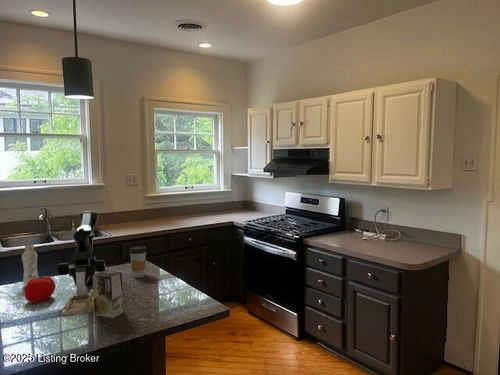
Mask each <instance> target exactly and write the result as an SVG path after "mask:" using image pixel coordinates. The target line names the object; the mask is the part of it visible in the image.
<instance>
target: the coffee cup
mask: <svg viewBox="0 0 500 375" xmlns="http://www.w3.org/2000/svg"><path fill="white" fill-rule="evenodd" d="M146 255H147V249H146V246H143V245H138V246H132V247H130V249H129V257H130V267H131V276H132V277H133V278H137V279H138V278H143V277H145V275H146V257H147V256H146Z"/></svg>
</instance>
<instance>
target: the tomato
mask: <svg viewBox="0 0 500 375" xmlns="http://www.w3.org/2000/svg"><path fill="white" fill-rule="evenodd" d="M24 287H25V288H24V298H25V300H27V301H28V302H29V303H39V302H43V301H46V300H48V299H50V297H52V296H53V294H55V293H54V292H55V290H56V282H55V281H54V279H53V278H52V277H51V276H48V275H46V276H38V277H37V278H36V277H35V278H33V279H31V280H30V281H29V282H28V283H27V284H26V286H24Z"/></svg>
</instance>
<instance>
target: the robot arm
mask: <svg viewBox="0 0 500 375" xmlns="http://www.w3.org/2000/svg"><path fill="white" fill-rule="evenodd" d="M79 221H80V226H79V227H77V229H76V231H75V232H74V234H73V236H72V237H73V240H74V244H75V247H76V248H75V249H76V250H75V252H73V264H69V263H68V262H64V263H63V262H62V263H58V264H57V267H56V270H57V273H58V275H59V276H67V275H69V277H72V279H73V281H74V285H75V286H76V268H77V267H85V269H86V271H85V285H86V287H87V286H91V285H92V286H93V275H95V274H96V272H97V273H99V272H101V271H106V262H105V260H104V259H100V260H97V259H96V256H95V253H94V251H93V247H94V238H95V233H94V230H95V228H96V227H97V226H98V222H99V214H98V212H97V213H96V212H94V211H92V210H87V211H85V210H84V211H82V212H81V214H80V215H79Z"/></svg>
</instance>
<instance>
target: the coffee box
mask: <svg viewBox="0 0 500 375" xmlns="http://www.w3.org/2000/svg"><path fill="white" fill-rule="evenodd" d="M122 273H123V272H122V271H112V270H111V271H110V270H105V271H101V272H97V273H95V275H93V284H92V287H93V293H94V309H93V312H94V317H95V316H96V317H103V318H110V319H111V318H112V319H113V318H116V317H118V316H119V315H121V314H123V313H124V296H123V274H122Z"/></svg>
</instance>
